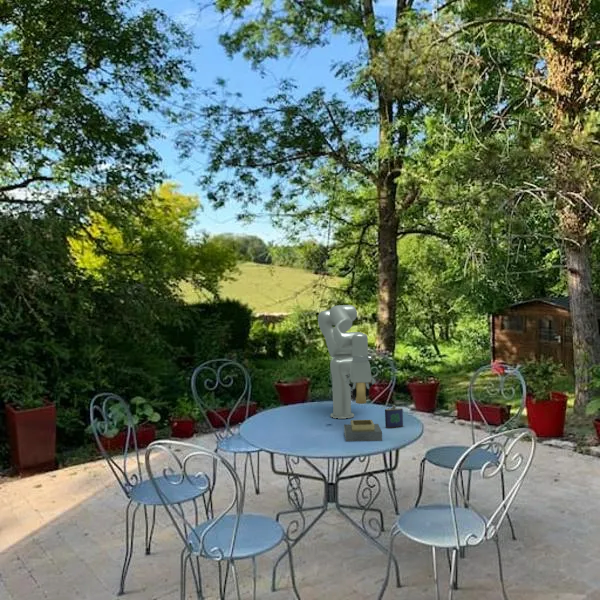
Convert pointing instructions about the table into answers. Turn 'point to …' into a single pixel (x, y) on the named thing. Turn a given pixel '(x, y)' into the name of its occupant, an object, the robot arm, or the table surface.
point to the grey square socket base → (362, 431)
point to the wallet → (393, 417)
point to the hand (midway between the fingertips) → (360, 396)
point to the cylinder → (360, 393)
